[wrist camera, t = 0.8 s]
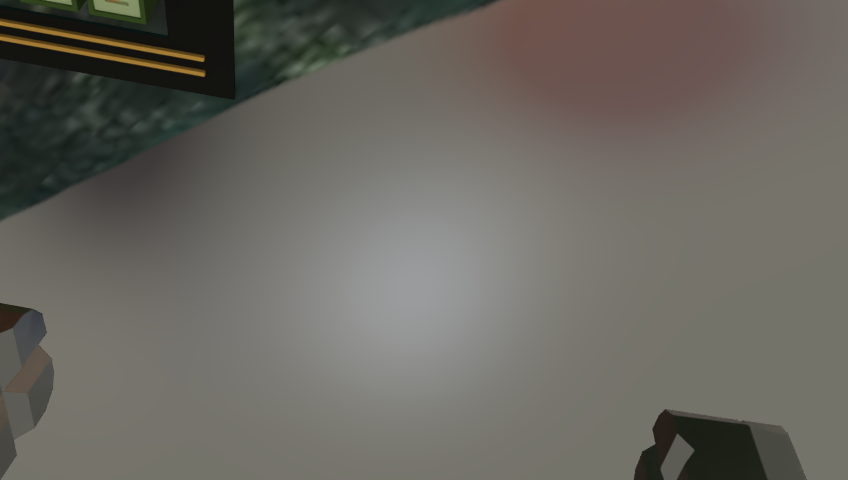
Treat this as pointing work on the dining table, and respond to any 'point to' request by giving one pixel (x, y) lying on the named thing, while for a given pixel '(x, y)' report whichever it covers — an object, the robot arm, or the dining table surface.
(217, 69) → the sushi
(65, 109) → the dining table surface
